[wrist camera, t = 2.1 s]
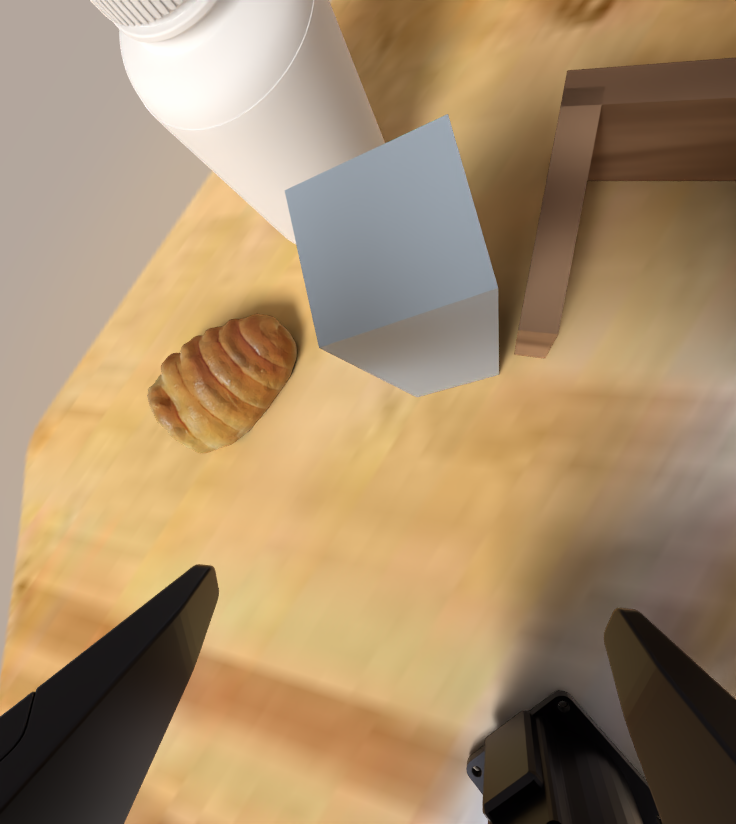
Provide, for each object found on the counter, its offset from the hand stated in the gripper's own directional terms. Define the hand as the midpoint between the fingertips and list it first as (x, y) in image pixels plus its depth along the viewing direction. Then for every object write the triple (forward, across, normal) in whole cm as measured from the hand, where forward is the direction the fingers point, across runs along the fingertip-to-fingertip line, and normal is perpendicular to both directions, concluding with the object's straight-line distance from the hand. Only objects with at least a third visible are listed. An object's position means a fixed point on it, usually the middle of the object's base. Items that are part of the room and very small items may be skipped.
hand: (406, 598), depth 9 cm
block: (+16, -2, -1) cm, 16 cm away
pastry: (+18, +11, +3) cm, 21 cm away
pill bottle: (+22, +5, -8) cm, 24 cm away
